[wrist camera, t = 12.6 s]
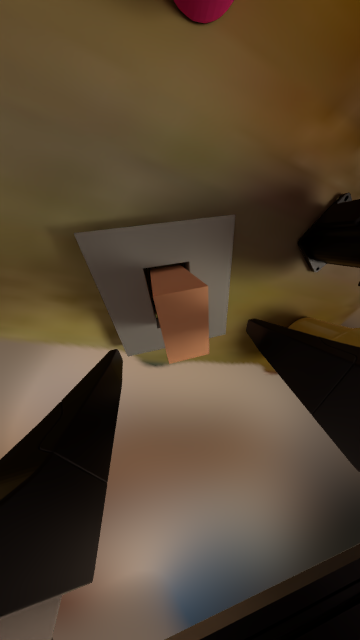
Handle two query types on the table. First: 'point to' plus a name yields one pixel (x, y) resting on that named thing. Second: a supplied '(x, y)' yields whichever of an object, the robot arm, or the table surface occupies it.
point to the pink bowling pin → (203, 9)
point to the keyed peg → (181, 312)
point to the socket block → (150, 251)
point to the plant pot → (328, 330)
